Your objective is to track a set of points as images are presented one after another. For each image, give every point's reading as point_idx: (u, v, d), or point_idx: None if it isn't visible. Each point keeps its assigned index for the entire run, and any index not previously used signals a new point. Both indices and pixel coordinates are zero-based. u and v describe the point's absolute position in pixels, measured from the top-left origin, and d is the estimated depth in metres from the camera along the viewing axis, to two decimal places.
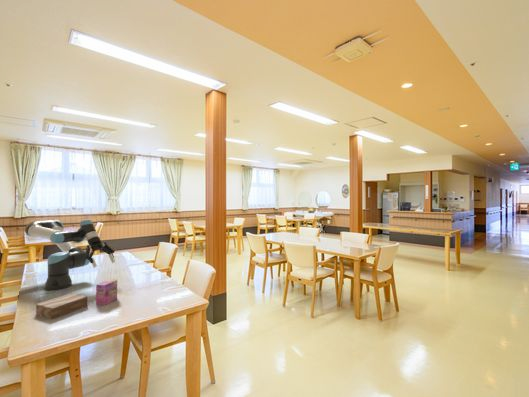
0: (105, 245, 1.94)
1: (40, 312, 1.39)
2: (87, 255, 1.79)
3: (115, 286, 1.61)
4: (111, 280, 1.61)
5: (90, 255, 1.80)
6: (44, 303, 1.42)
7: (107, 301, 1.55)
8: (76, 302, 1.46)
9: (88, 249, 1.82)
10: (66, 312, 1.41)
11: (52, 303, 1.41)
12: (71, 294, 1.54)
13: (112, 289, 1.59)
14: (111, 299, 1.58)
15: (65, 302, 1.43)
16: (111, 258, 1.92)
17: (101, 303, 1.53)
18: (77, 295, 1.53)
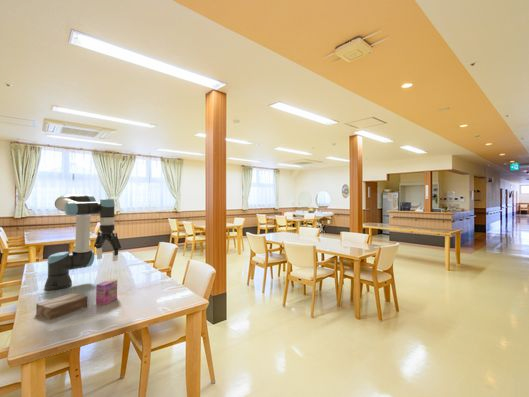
0: None
1: (40, 312, 1.39)
2: (94, 244, 1.61)
3: (115, 286, 1.61)
4: (111, 280, 1.61)
5: (97, 245, 1.60)
6: (44, 303, 1.42)
7: (107, 301, 1.55)
8: (76, 303, 1.46)
9: (97, 237, 1.60)
10: (65, 312, 1.41)
11: (52, 303, 1.41)
12: (72, 294, 1.55)
13: (112, 289, 1.59)
14: (111, 299, 1.58)
15: (65, 302, 1.42)
16: None
17: (101, 303, 1.53)
18: (77, 295, 1.53)
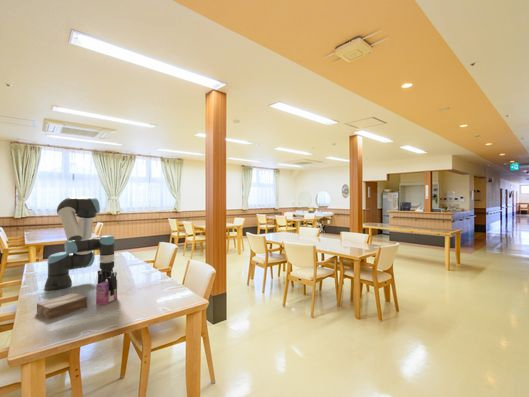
0: None
1: (40, 312, 1.39)
2: None
3: None
4: None
5: None
6: (44, 302, 1.42)
7: (107, 301, 1.55)
8: (75, 303, 1.45)
9: (98, 276, 1.60)
10: (64, 312, 1.41)
11: (51, 303, 1.41)
12: (73, 294, 1.55)
13: None
14: None
15: (64, 302, 1.42)
16: None
17: (101, 303, 1.53)
18: (78, 295, 1.53)
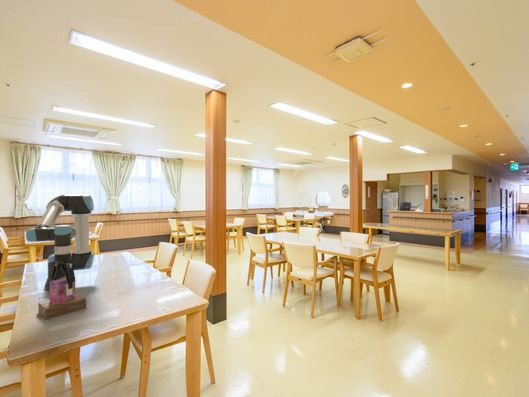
0: None
1: (40, 311, 1.40)
2: (51, 276, 1.48)
3: None
4: None
5: (53, 277, 1.48)
6: (45, 302, 1.43)
7: (62, 300, 1.43)
8: (73, 304, 1.44)
9: (53, 268, 1.48)
10: (62, 313, 1.40)
11: (50, 303, 1.41)
12: (75, 294, 1.55)
13: None
14: (67, 298, 1.46)
15: (62, 303, 1.42)
16: None
17: (54, 302, 1.41)
18: (78, 296, 1.52)
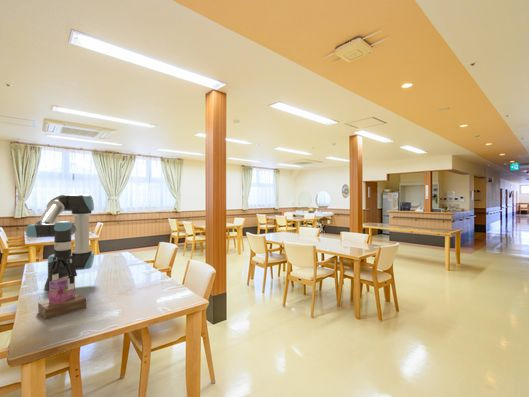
0: None
1: (40, 311, 1.40)
2: (50, 270, 1.49)
3: None
4: None
5: (52, 271, 1.48)
6: (45, 302, 1.43)
7: (61, 300, 1.43)
8: (73, 304, 1.44)
9: (52, 263, 1.48)
10: (62, 313, 1.40)
11: (50, 303, 1.41)
12: (75, 294, 1.55)
13: None
14: (67, 298, 1.46)
15: (62, 303, 1.42)
16: None
17: (54, 302, 1.41)
18: (78, 296, 1.52)
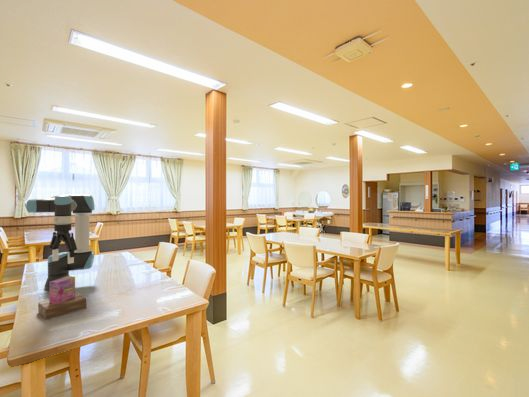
0: (68, 237, 1.43)
1: (40, 311, 1.40)
2: (50, 245, 1.49)
3: (72, 284, 1.49)
4: (68, 277, 1.49)
5: (52, 246, 1.48)
6: (45, 302, 1.43)
7: (61, 300, 1.43)
8: (73, 304, 1.44)
9: (52, 238, 1.48)
10: (62, 313, 1.40)
11: (50, 303, 1.41)
12: (75, 294, 1.55)
13: (68, 287, 1.46)
14: (67, 298, 1.46)
15: (62, 303, 1.42)
16: None
17: (54, 302, 1.41)
18: (78, 296, 1.52)
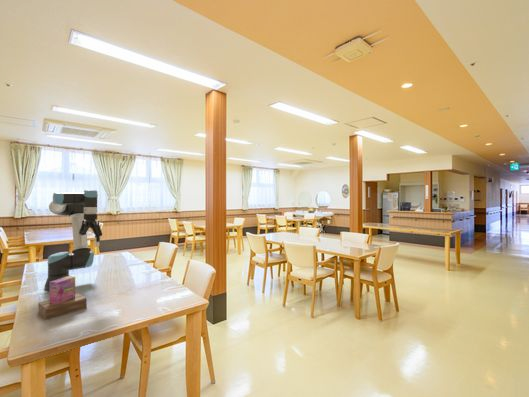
0: (95, 225, 1.70)
1: (40, 311, 1.40)
2: (79, 231, 1.76)
3: (72, 283, 1.49)
4: (68, 277, 1.49)
5: (81, 232, 1.75)
6: (45, 302, 1.43)
7: (62, 300, 1.43)
8: (73, 304, 1.44)
9: (81, 225, 1.75)
10: (62, 313, 1.40)
11: None
12: (75, 294, 1.55)
13: (68, 287, 1.46)
14: (67, 298, 1.46)
15: (62, 303, 1.42)
16: None
17: (54, 302, 1.41)
18: (78, 296, 1.52)
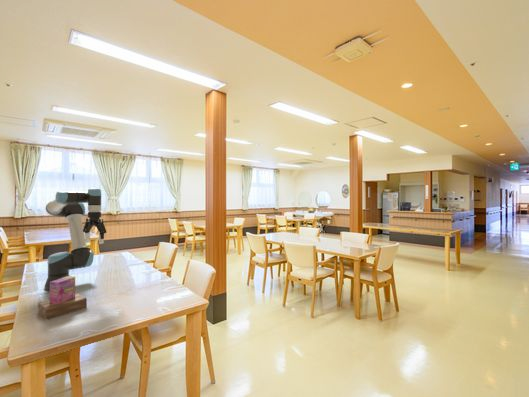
0: (99, 222, 1.75)
1: (40, 311, 1.40)
2: (83, 229, 1.80)
3: (72, 283, 1.49)
4: (68, 277, 1.49)
5: (85, 230, 1.80)
6: (45, 302, 1.43)
7: (62, 300, 1.43)
8: (74, 304, 1.44)
9: (85, 223, 1.79)
10: (62, 313, 1.40)
11: None
12: None
13: (68, 287, 1.46)
14: (67, 297, 1.46)
15: (63, 303, 1.42)
16: None
17: (55, 302, 1.41)
18: (78, 296, 1.52)
